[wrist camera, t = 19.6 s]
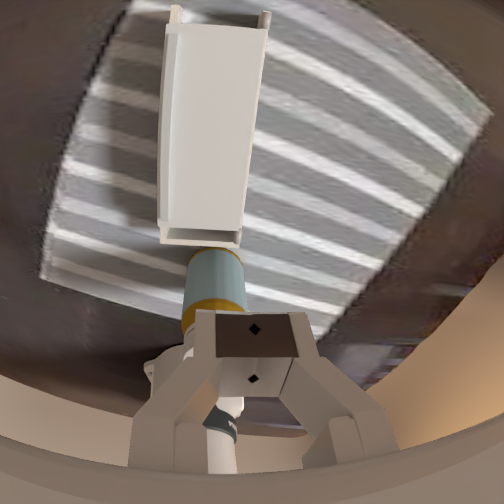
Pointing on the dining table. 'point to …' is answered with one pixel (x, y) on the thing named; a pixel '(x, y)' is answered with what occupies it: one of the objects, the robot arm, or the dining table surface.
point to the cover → (206, 123)
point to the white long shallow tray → (234, 237)
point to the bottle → (211, 288)
